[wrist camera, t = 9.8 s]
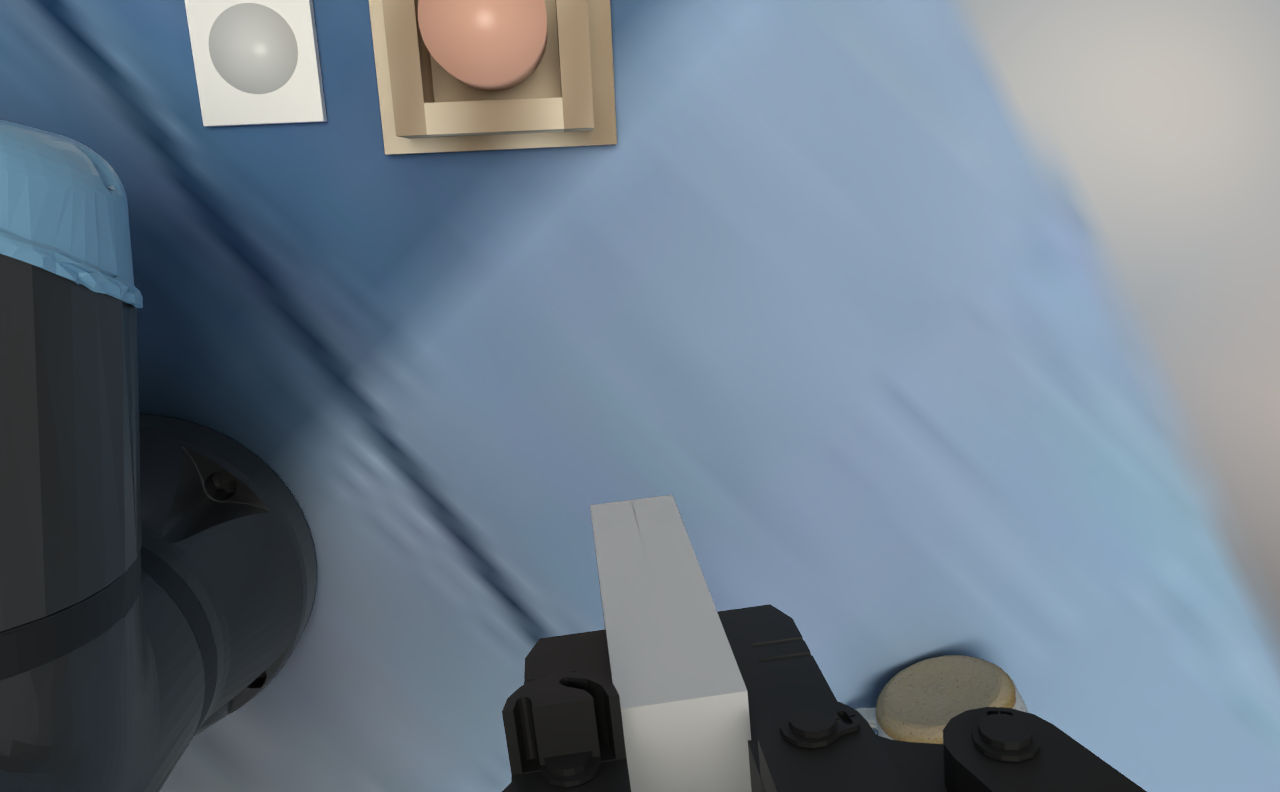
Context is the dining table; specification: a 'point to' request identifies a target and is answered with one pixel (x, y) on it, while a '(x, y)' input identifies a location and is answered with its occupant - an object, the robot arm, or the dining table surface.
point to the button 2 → (485, 39)
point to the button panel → (496, 120)
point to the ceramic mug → (938, 697)
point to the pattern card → (256, 61)
